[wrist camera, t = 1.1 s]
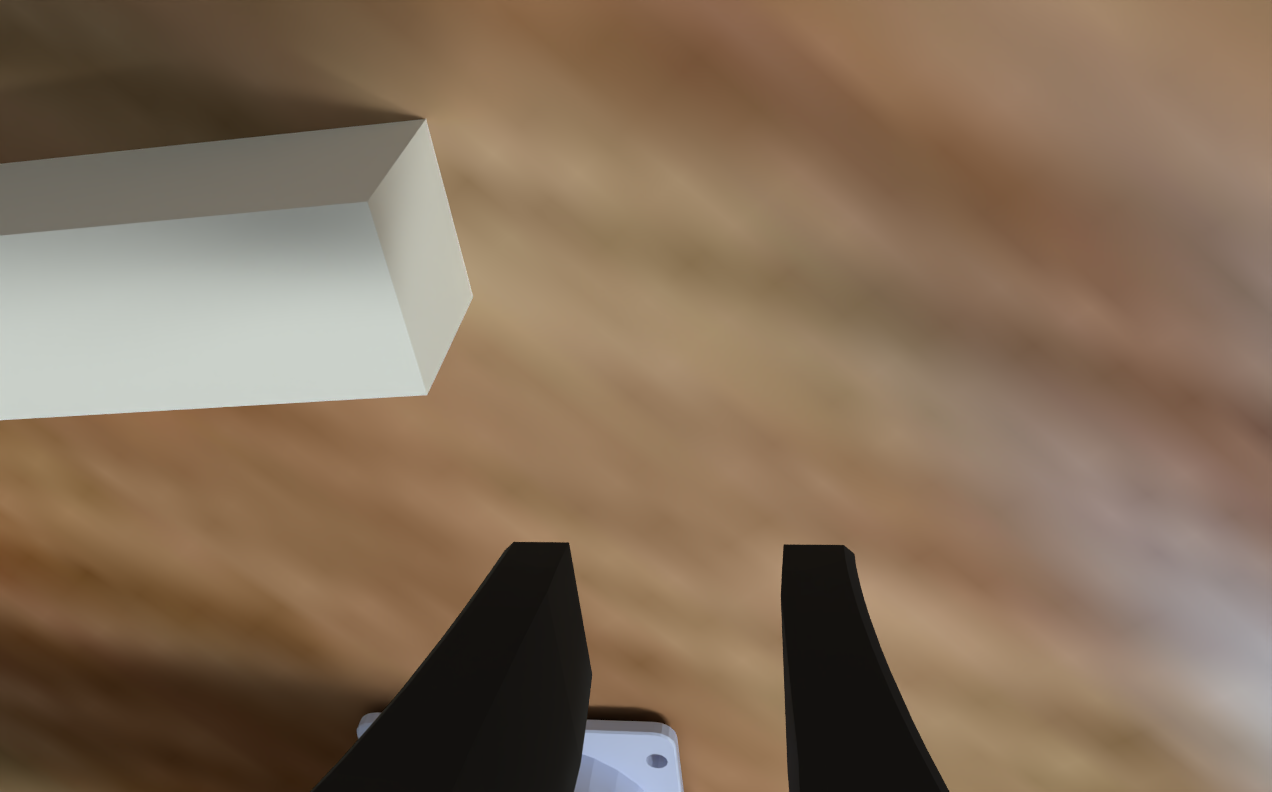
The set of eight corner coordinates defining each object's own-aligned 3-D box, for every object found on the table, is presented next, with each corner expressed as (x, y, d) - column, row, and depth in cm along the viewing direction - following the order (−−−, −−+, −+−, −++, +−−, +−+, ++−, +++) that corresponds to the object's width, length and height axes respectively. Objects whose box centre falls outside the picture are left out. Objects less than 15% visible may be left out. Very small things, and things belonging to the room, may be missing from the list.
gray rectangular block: (476, 288, 22) (427, 394, 19) (-73, 330, 24) (-190, 431, 21) (430, 113, 20) (367, 201, 17) (-163, 176, 22) (-306, 263, 19)
